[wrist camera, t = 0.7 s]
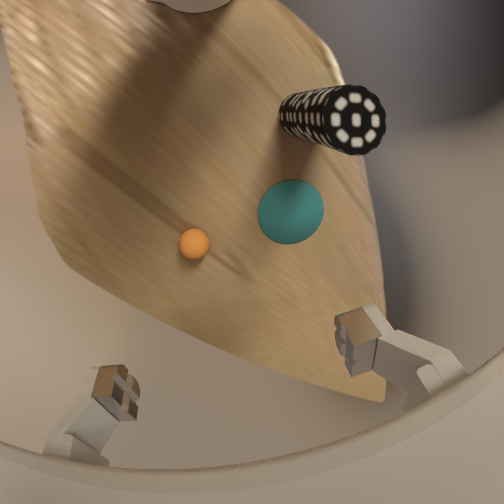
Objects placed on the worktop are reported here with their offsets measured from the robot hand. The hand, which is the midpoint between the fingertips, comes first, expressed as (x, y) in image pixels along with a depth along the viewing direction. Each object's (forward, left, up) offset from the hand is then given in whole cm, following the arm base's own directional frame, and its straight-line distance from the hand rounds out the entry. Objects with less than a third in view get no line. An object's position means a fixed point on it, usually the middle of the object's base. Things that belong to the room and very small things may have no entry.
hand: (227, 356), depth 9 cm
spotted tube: (-5, +17, -42) cm, 45 cm away
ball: (+13, -7, -39) cm, 42 cm away
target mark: (+13, +12, -42) cm, 45 cm away
